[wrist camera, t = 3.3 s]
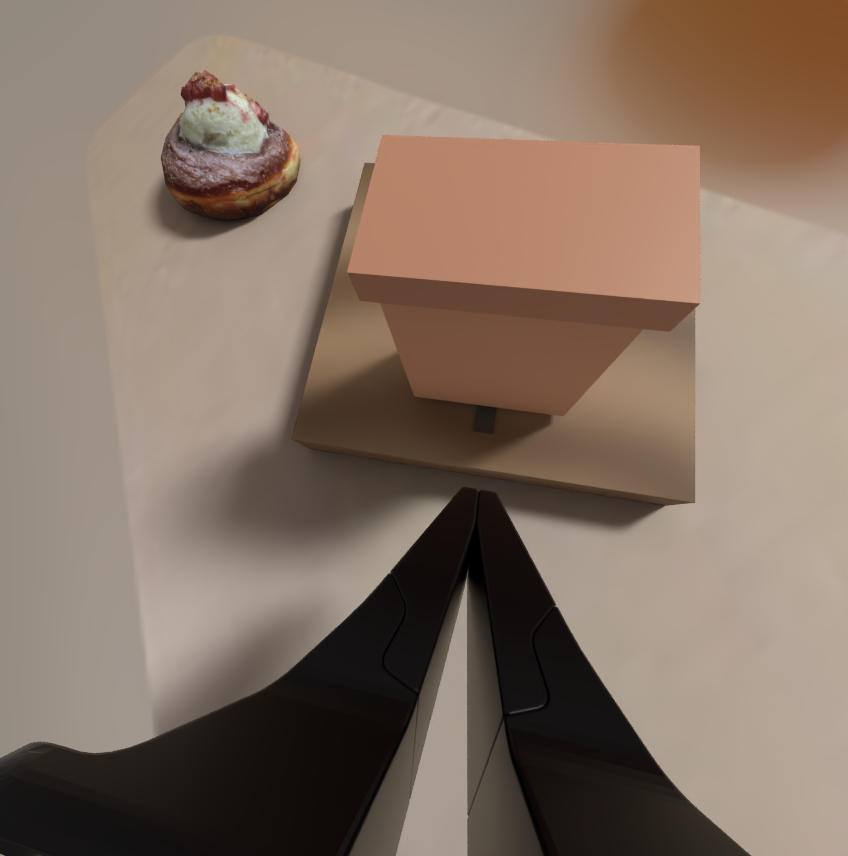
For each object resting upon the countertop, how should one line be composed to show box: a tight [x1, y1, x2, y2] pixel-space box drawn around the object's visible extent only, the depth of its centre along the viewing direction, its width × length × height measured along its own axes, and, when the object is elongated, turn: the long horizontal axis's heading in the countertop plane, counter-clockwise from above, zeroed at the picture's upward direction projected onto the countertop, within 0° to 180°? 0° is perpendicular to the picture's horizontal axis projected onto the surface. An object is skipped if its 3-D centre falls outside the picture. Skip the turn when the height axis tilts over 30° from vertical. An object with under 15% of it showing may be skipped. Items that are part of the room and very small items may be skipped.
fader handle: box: [347, 135, 700, 416], centre depth 11 cm, size 4×7×8 cm, turn 80°
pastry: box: [161, 70, 300, 220], centre depth 21 cm, size 8×8×5 cm
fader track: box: [291, 163, 695, 506], centre depth 18 cm, size 15×16×2 cm
